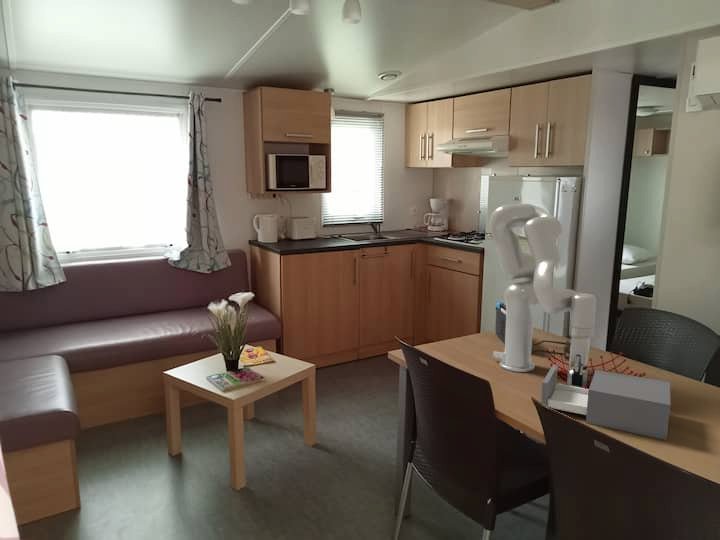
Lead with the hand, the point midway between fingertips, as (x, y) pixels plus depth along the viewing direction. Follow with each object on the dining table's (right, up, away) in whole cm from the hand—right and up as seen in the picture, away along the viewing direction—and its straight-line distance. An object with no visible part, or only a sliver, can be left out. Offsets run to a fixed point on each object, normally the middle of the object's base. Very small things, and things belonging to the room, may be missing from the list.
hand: (578, 380), depth 174 cm
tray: (-7, -4, -15) cm, 17 cm away
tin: (0, -2, +1) cm, 3 cm away
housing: (+5, -6, -21) cm, 23 cm away
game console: (-9, +6, +49) cm, 50 cm away
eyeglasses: (+3, +3, +37) cm, 37 cm away
